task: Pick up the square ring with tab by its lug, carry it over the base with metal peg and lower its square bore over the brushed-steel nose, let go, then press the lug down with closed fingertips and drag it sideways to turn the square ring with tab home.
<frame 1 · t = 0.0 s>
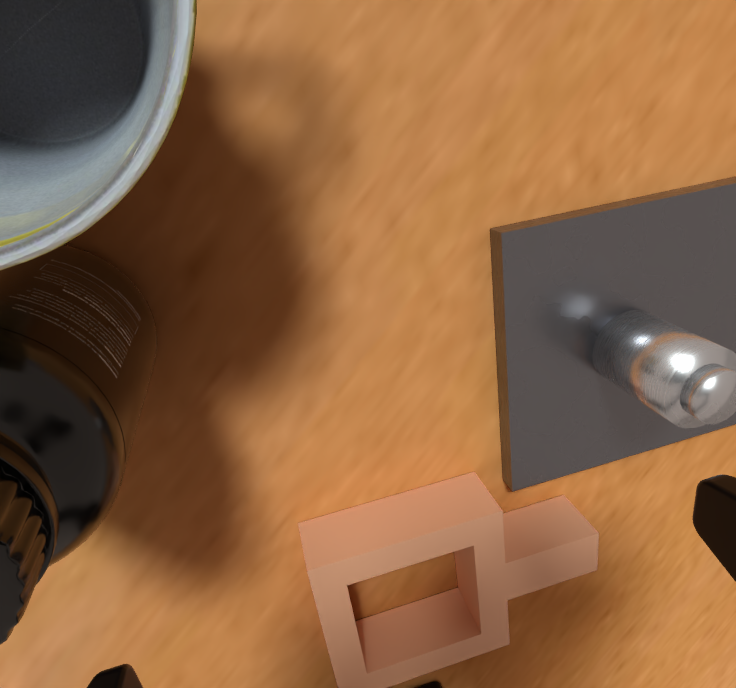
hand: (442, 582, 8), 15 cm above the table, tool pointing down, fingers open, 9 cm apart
supplement bottle: (61, 331, 20), on the table
base with metal peg: (611, 337, 26), on the table
ceramic cup: (74, 0, 16), on the table
square ring with tab: (399, 564, 28), on the table
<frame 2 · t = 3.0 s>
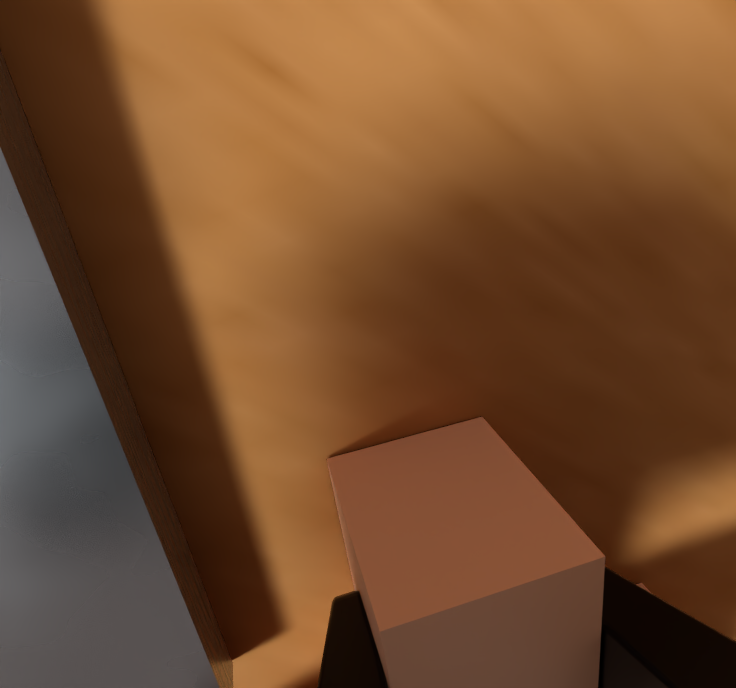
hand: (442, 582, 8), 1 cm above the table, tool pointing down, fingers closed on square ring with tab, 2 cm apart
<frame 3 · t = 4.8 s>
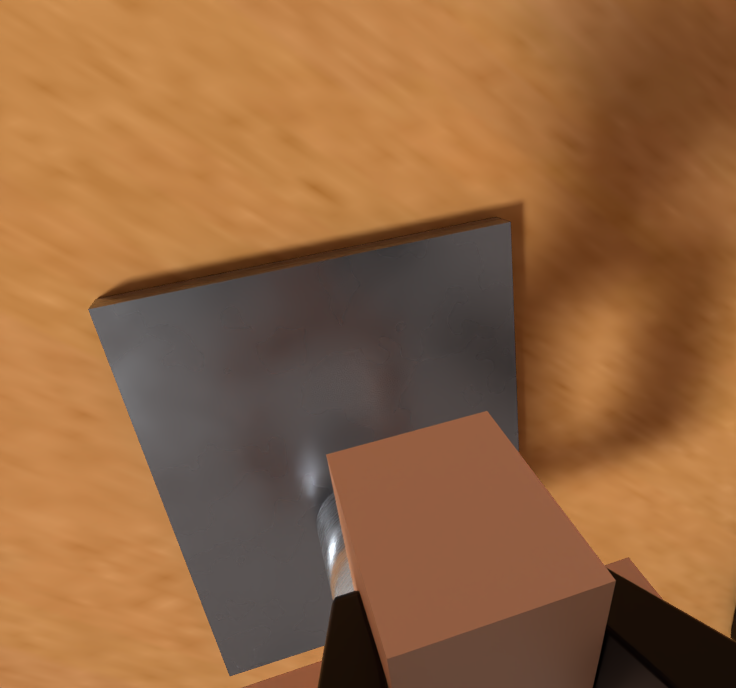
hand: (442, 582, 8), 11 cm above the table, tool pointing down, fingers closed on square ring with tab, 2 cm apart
base with metal peg: (356, 500, 21), on the table
when the fingers open (3 cm above the table, at t = 6.9 s): square ring with tab stays where it is, resting on base with metal peg.
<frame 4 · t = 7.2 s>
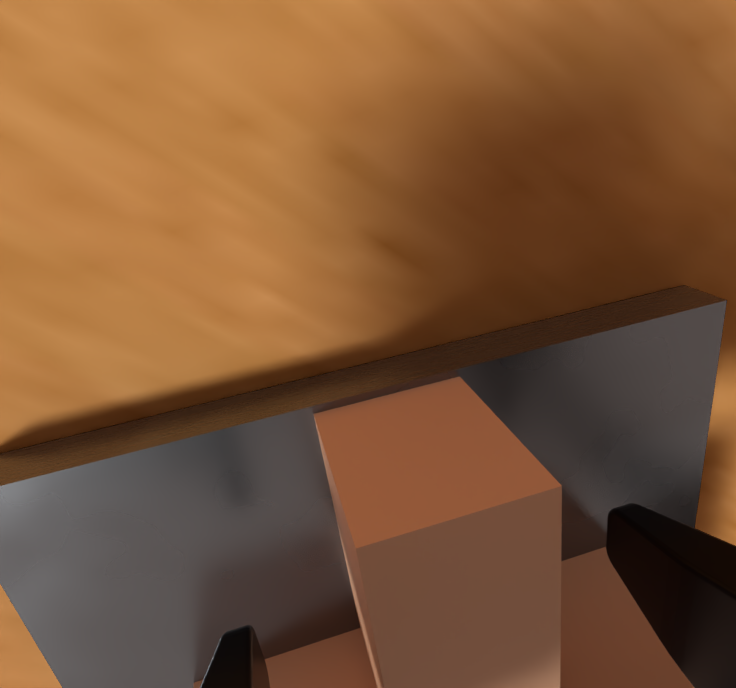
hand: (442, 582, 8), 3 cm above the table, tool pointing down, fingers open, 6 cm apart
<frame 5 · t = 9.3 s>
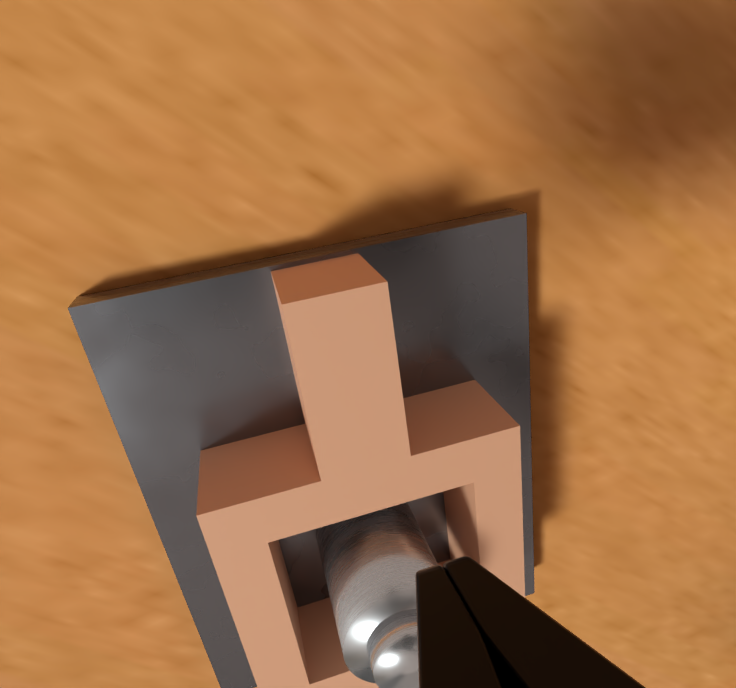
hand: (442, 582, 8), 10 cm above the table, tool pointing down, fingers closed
base with metal peg: (359, 511, 20), on the table
square ring with tab: (364, 521, 19), point 1 cm above the table, touching base with metal peg
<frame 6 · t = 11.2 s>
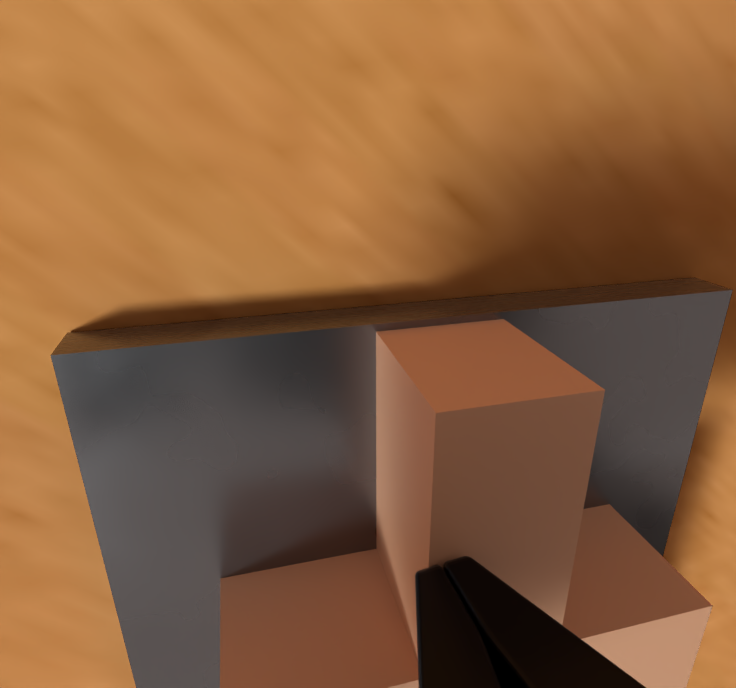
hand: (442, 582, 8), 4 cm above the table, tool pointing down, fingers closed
base with metal peg: (411, 652, 15), on the table
square ring with tab: (424, 678, 14), point 1 cm above the table, touching gripper, base with metal peg
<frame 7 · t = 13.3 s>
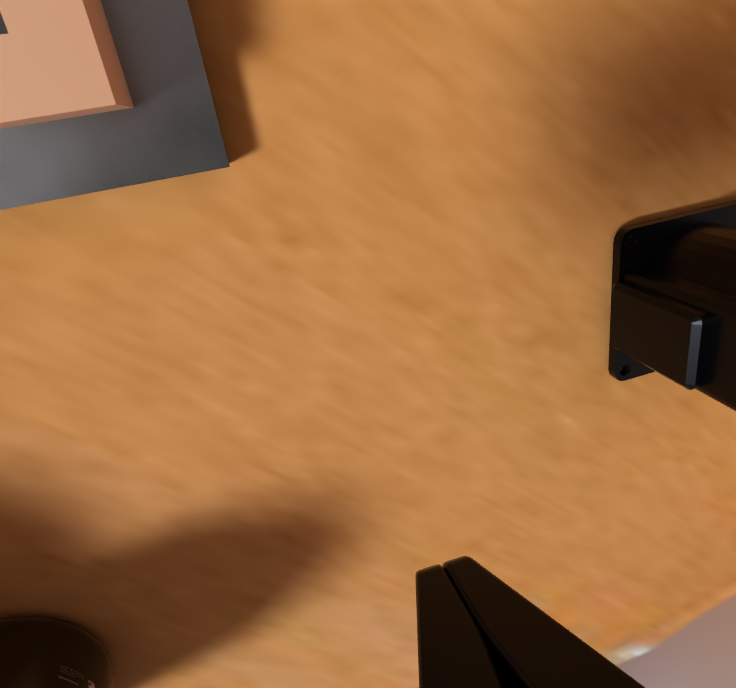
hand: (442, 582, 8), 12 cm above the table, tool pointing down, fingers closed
supplement bottle: (24, 670, 21), on the table
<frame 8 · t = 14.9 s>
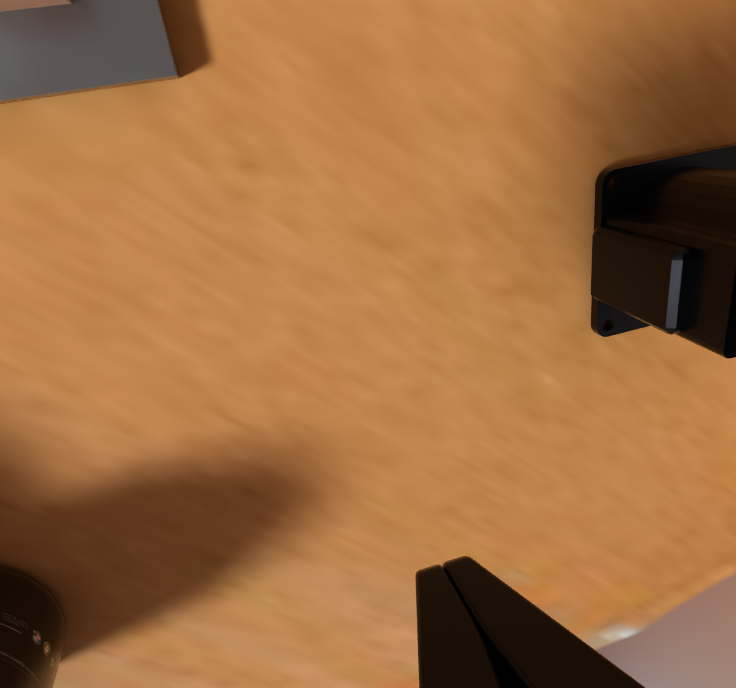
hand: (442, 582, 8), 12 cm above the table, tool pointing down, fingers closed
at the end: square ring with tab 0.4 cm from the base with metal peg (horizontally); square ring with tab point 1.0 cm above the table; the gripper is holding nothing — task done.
